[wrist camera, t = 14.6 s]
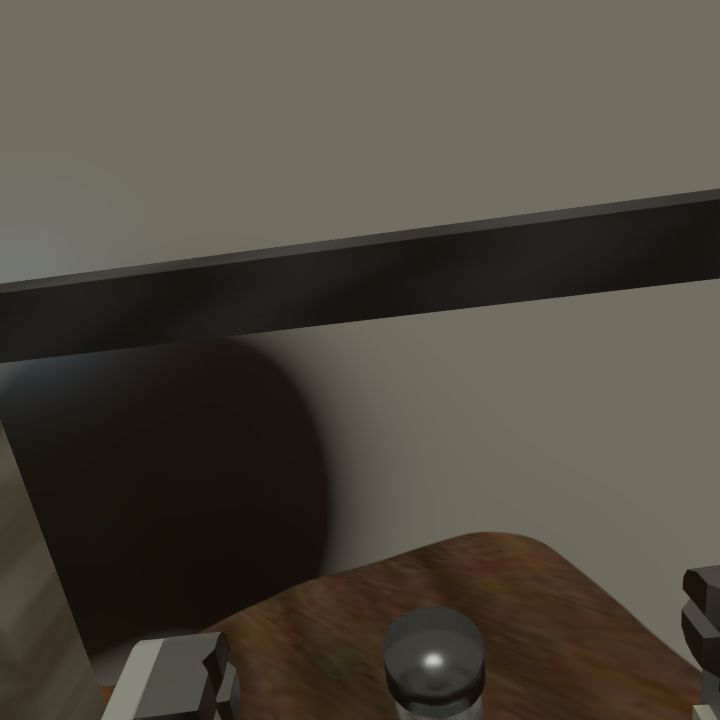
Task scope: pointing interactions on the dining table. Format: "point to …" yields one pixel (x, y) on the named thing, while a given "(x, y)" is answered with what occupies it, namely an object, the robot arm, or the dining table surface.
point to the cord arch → (288, 311)
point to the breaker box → (708, 699)
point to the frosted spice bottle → (435, 665)
